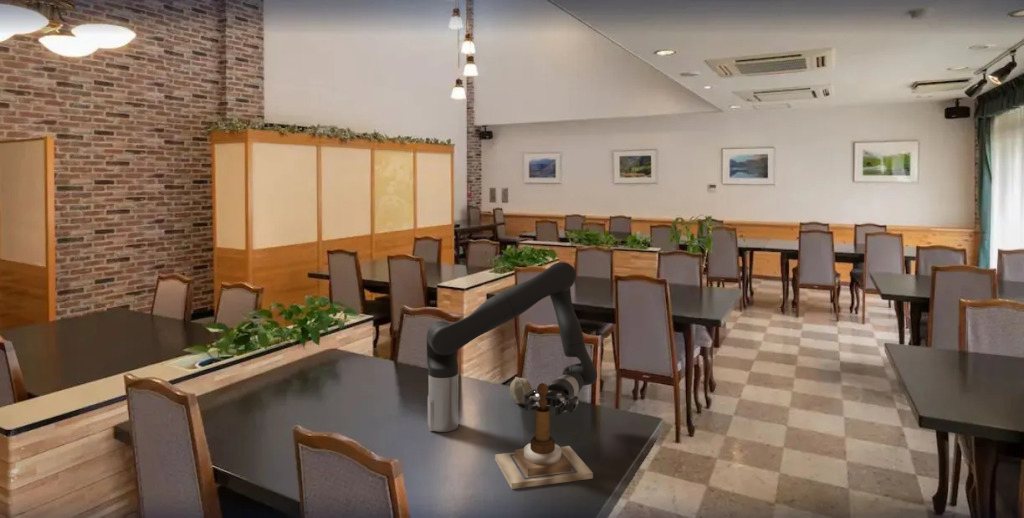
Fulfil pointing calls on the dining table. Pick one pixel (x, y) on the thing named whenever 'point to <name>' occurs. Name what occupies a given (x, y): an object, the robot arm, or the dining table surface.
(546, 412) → the wooden knobbed peg
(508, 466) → the beige flat stepped piece
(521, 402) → the garlic bulb
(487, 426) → the dining table surface
